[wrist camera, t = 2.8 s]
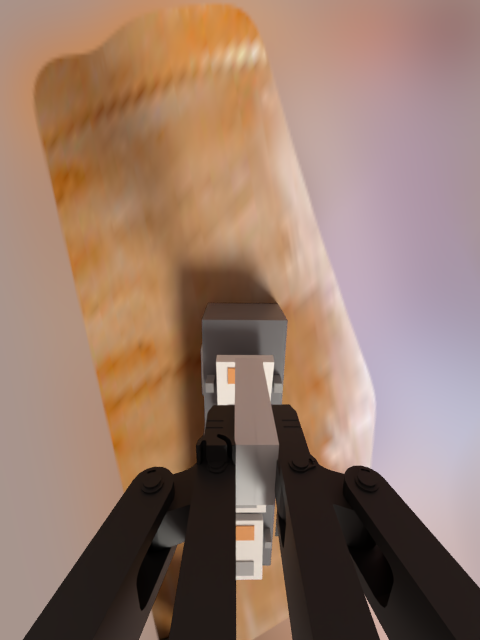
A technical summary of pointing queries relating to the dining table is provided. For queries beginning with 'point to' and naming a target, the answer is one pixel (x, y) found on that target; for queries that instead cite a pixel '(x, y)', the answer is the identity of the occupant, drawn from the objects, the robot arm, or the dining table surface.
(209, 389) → the power strip
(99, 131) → the dining table surface
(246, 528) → the rocker back
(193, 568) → the robot arm
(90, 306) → the dining table surface
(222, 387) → the rocker front
